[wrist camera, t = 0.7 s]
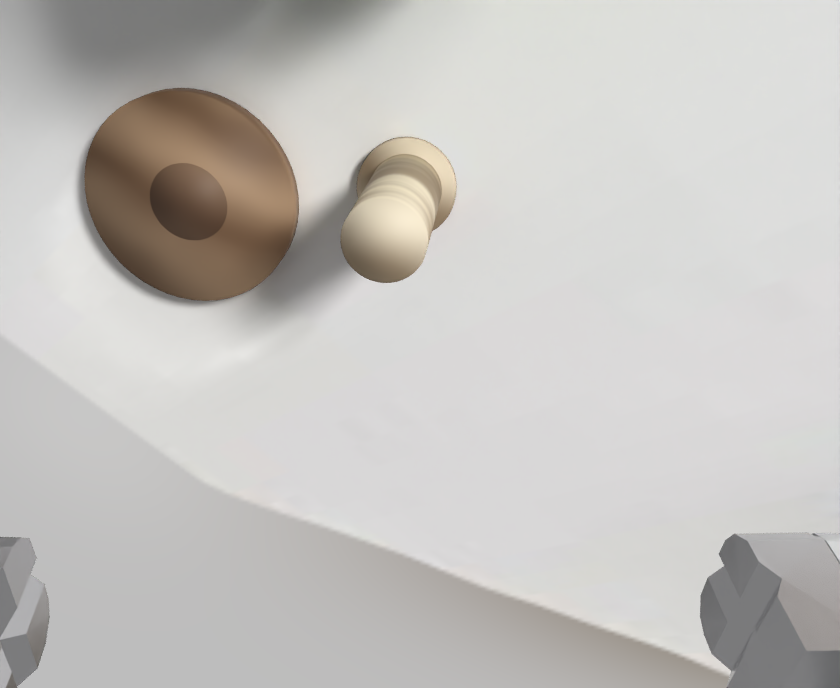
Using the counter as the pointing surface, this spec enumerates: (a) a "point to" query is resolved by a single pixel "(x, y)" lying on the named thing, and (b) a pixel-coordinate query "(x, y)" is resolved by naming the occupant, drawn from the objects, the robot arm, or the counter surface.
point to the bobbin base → (191, 193)
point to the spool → (397, 208)
